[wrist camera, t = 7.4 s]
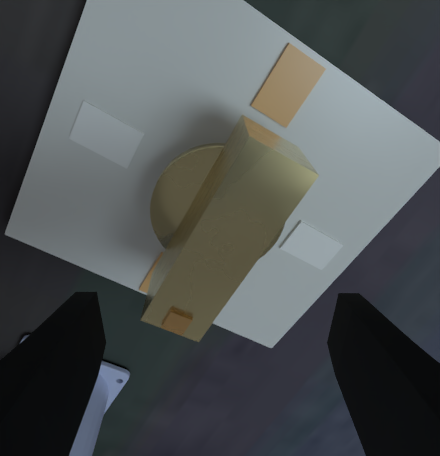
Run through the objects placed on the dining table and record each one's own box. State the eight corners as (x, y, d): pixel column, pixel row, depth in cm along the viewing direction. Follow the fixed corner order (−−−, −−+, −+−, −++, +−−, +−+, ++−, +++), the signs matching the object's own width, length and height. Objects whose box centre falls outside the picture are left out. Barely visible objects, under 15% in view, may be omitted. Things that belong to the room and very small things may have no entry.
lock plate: (269, 335, 26) (274, 362, 23) (15, 223, 21) (-8, 245, 19) (440, 145, 19) (468, 159, 17) (125, -81, 14) (110, -100, 12)
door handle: (326, 159, 16) (361, 200, 12) (229, 294, 20) (233, 358, 16) (203, 88, 15) (199, 109, 11) (122, 249, 19) (98, 308, 15)
